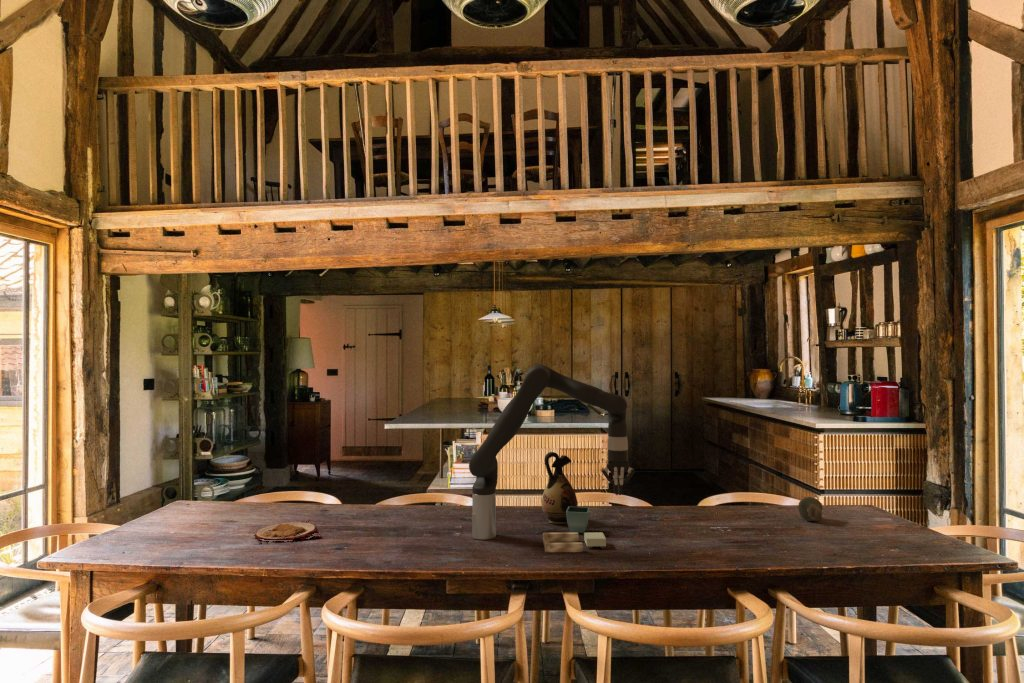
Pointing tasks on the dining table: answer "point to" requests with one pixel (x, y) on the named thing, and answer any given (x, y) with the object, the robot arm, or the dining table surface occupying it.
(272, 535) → the plate with food
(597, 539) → the cream footed box
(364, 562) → the dining table surface
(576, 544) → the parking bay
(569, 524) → the flower pot
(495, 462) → the robot arm
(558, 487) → the ceramic jug
